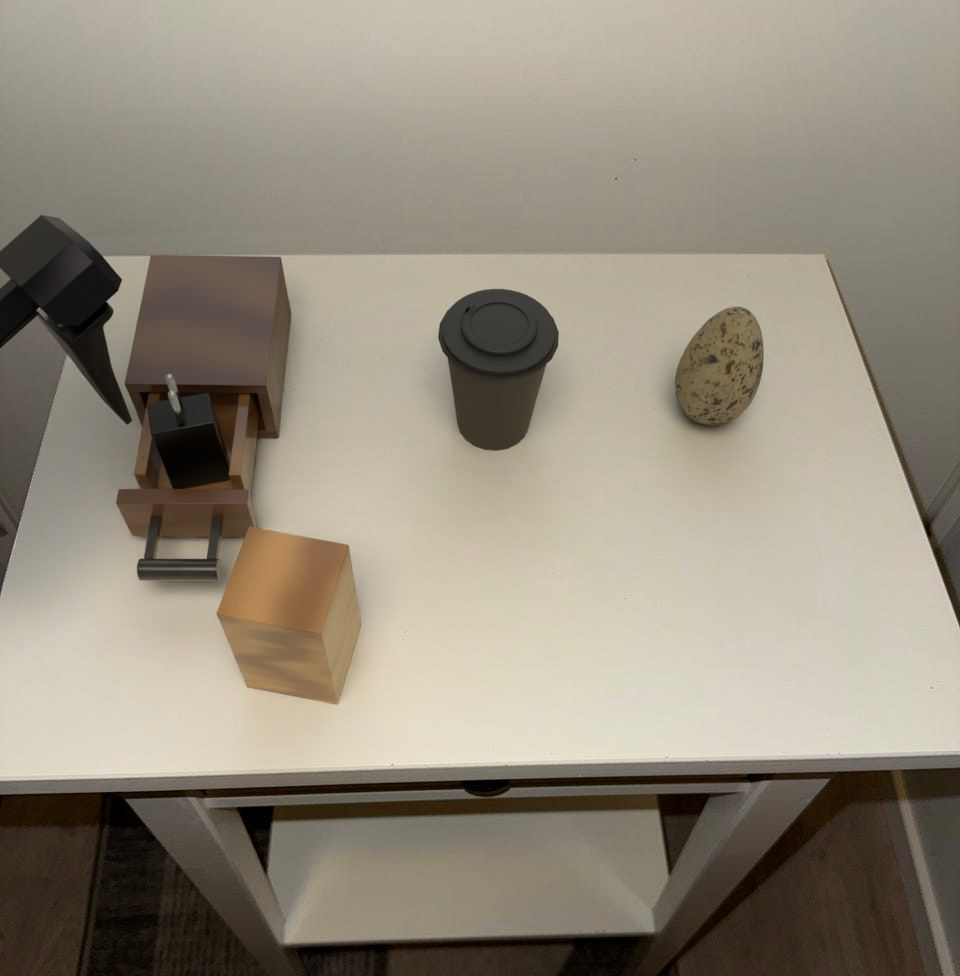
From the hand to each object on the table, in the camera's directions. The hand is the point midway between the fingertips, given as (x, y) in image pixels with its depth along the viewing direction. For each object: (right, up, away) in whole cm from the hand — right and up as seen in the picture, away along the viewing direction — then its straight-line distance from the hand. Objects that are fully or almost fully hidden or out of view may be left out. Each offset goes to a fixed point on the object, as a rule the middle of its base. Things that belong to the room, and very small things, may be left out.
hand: (66, 475), depth 55 cm
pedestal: (+12, -10, +9) cm, 18 cm away
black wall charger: (+4, +2, +13) cm, 14 cm away
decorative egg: (+40, +8, +19) cm, 45 cm away
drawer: (+4, +1, +13) cm, 14 cm away
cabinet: (+4, +11, +20) cm, 23 cm away
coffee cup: (+24, +7, +18) cm, 31 cm away
